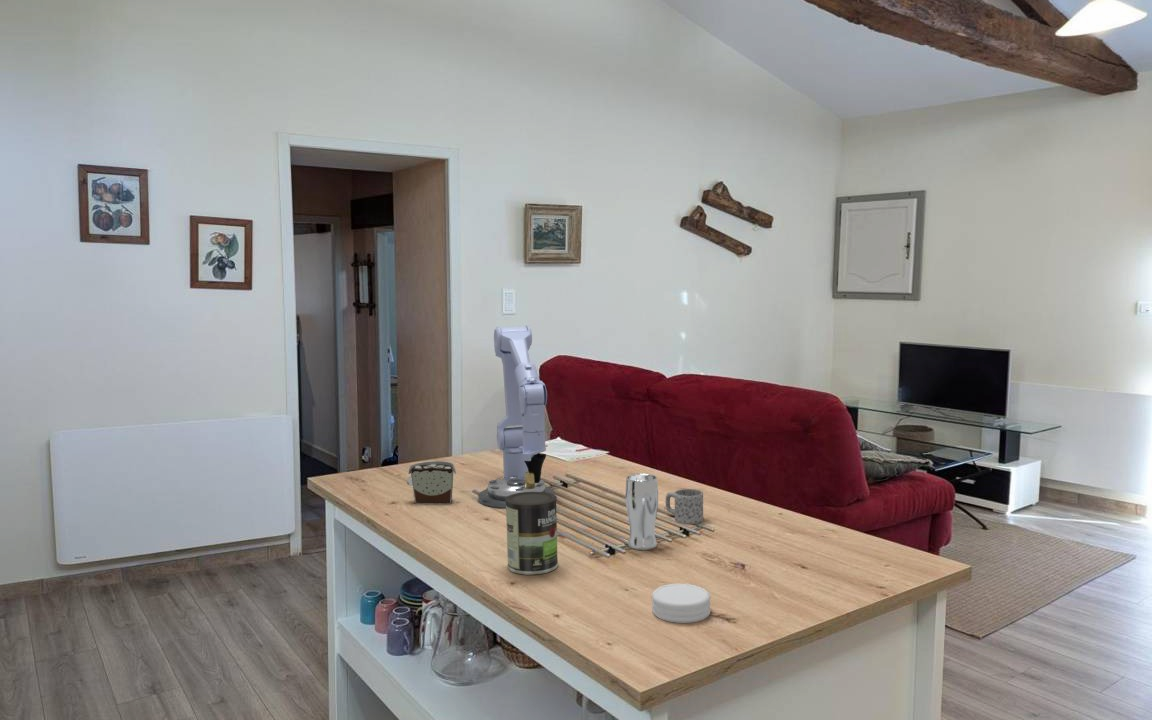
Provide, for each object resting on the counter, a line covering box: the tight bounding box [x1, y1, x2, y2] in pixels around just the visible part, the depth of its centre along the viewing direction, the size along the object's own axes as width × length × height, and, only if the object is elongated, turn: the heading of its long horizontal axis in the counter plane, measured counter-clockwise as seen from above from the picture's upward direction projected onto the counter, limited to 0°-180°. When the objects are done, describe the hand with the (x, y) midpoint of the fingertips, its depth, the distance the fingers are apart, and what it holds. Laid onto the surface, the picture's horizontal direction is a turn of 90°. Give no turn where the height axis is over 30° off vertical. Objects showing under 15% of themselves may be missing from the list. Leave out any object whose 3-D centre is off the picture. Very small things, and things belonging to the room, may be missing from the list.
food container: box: [408, 460, 457, 505], centre depth 218 cm, size 12×6×10 cm, turn 84°
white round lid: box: [651, 583, 711, 624], centre depth 144 cm, size 10×10×4 cm
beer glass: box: [625, 473, 659, 551], centre depth 179 cm, size 7×7×15 cm
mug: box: [665, 488, 704, 525], centre depth 198 cm, size 10×7×7 cm
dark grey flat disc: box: [477, 486, 556, 509], centre depth 220 cm, size 20×20×1 cm
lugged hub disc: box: [487, 471, 546, 500], centre depth 219 cm, size 15×15×6 cm
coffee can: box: [505, 492, 559, 576], centre depth 168 cm, size 10×10×14 cm
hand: (535, 482), depth 216 cm, fingers closed
